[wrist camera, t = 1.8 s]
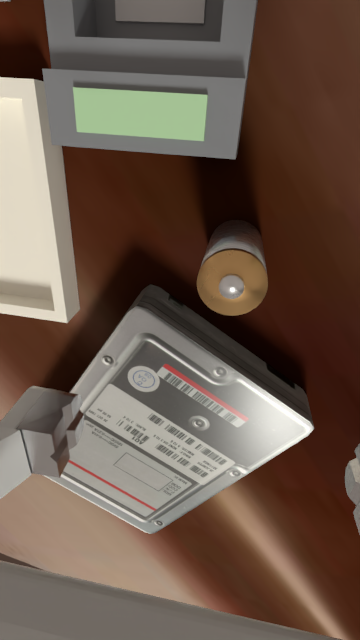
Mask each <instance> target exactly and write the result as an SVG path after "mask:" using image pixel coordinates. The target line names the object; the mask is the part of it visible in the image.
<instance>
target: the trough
mask: <svg viewBox="0 0 360 640" xmlns="http://www.w3.org/2000/svg"><path fill="white" fill-rule="evenodd" d="M79 310H80V305H79V296H78V287H77V278H76V269H75V260H74V251H73V242H72V233H71V225H70V216H69V207H68V198H67V189H66V180H65V171H64V162H63V153H62V146H59V145H52V143H51V135H50V127H49V119H48V112H47V104H46V96H45V88H44V81H40V80H36V79H23V78H5V77H0V313H4V314H11V315H17V316H24V317H31V318H38V319H44V320H51V321H58V322H65V323H68V322H69V321H70V319H71V318H72V317H73V316H74V315H75V314H76V313H77V312H78V311H79Z"/></svg>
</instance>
